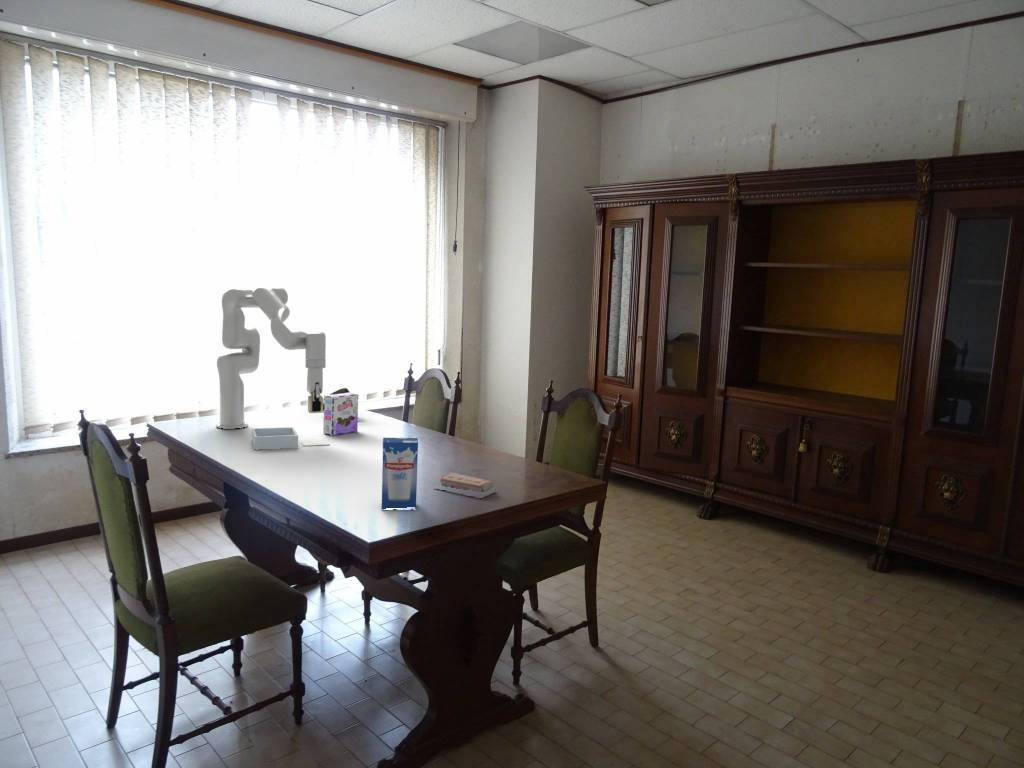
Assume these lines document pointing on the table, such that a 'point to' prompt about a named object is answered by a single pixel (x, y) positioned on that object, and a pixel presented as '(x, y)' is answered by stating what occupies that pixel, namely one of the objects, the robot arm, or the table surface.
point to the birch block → (310, 399)
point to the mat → (314, 442)
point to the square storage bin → (274, 438)
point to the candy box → (340, 413)
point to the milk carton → (399, 472)
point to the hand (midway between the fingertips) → (315, 409)
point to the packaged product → (466, 482)
